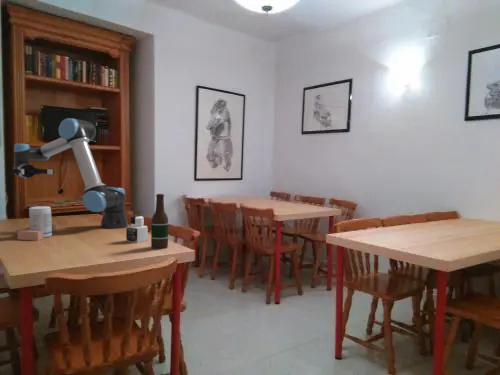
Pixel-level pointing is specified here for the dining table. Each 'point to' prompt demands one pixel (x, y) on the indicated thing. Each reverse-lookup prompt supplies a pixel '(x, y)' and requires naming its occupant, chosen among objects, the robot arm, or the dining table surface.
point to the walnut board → (29, 228)
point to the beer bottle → (159, 225)
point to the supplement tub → (41, 220)
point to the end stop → (29, 235)
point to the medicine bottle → (137, 230)
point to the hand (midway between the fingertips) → (38, 171)
